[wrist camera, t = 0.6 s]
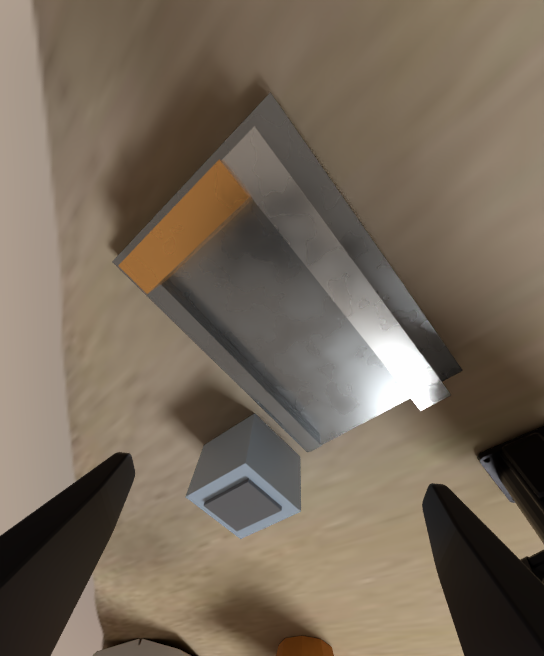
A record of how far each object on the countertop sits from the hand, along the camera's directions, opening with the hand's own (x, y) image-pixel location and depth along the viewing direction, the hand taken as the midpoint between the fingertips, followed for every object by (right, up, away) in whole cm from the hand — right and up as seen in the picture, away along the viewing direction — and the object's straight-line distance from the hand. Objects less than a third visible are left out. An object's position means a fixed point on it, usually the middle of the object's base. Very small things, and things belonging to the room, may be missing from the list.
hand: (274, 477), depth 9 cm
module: (-2, -6, +17) cm, 18 cm away
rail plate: (+1, +6, +11) cm, 13 cm away
